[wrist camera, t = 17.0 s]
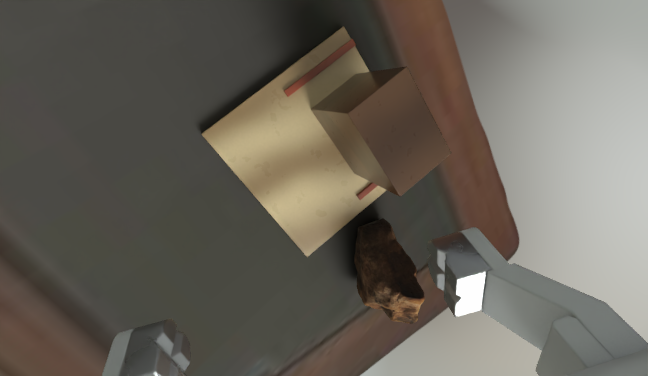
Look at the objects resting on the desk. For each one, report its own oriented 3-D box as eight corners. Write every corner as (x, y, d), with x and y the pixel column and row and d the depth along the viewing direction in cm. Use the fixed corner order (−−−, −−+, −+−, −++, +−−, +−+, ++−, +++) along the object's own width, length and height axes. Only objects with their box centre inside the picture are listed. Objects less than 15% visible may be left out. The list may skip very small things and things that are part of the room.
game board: (201, 133, 37) (201, 134, 36) (341, 27, 39) (345, 25, 38) (305, 254, 45) (307, 258, 44) (417, 160, 47) (422, 162, 46)
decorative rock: (386, 288, 51) (430, 334, 41) (349, 297, 49) (386, 347, 40) (387, 213, 48) (435, 243, 38) (347, 219, 46) (387, 253, 36)
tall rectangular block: (310, 109, 40) (347, 113, 30) (357, 72, 41) (409, 64, 31) (354, 173, 44) (400, 196, 34) (396, 138, 45) (453, 151, 35)
